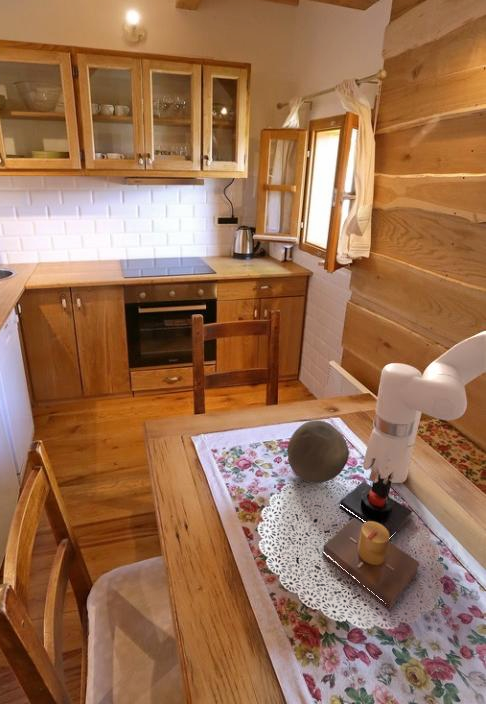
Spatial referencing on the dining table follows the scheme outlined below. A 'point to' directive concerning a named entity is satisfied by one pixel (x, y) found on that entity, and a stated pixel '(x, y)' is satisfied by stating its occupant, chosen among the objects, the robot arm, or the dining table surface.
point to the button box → (375, 509)
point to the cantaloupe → (317, 452)
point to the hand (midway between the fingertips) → (380, 493)
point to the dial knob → (373, 542)
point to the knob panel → (377, 578)
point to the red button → (376, 499)
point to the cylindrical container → (407, 454)
